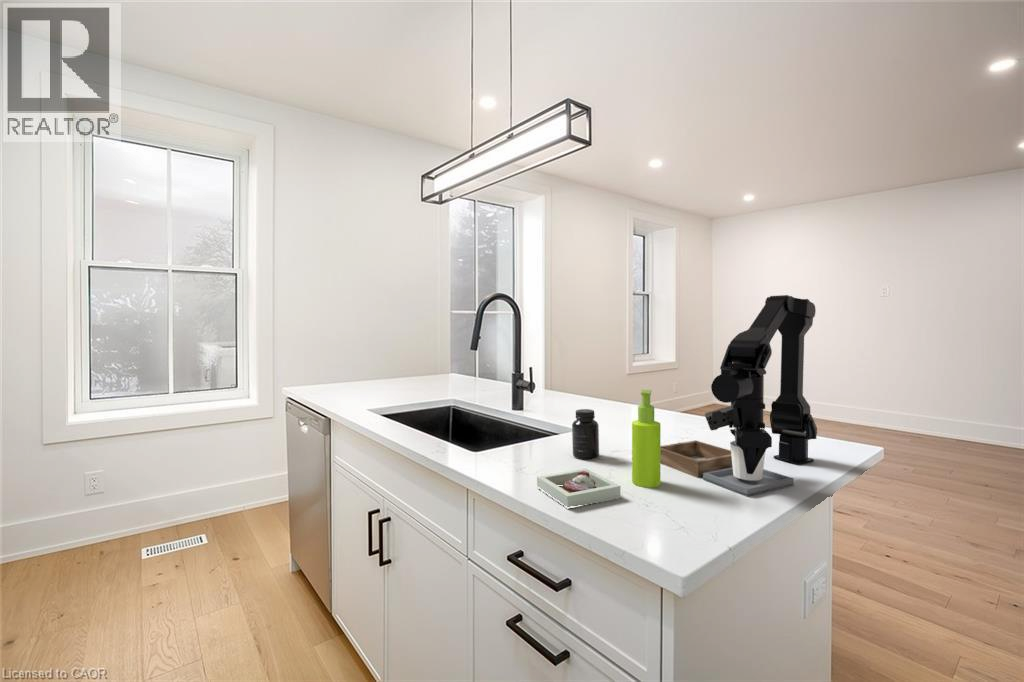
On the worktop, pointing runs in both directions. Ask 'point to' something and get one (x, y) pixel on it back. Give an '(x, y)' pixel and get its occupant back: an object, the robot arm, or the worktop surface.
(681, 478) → the worktop surface
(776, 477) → the charcoal tray
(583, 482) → the pastry
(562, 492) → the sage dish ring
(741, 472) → the white tapered cup
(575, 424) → the supplement bottle
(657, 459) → the soap dispenser
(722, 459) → the walnut bin
